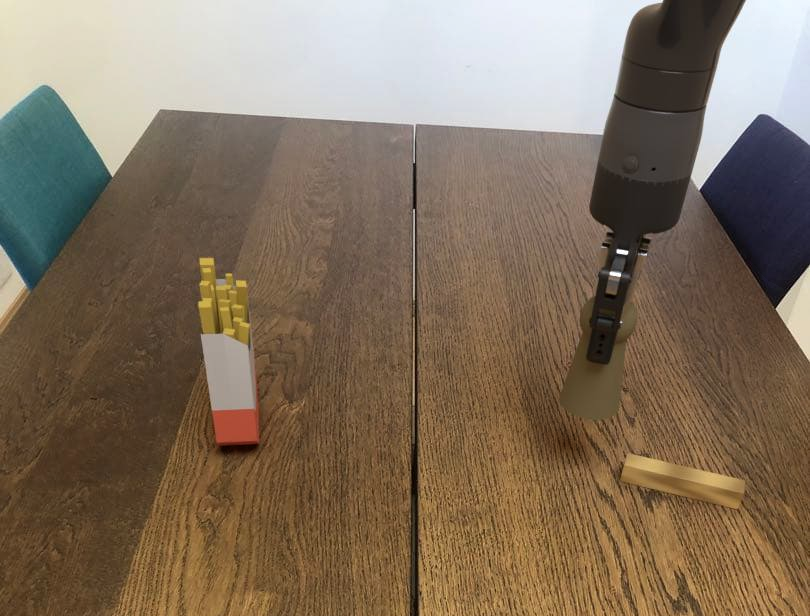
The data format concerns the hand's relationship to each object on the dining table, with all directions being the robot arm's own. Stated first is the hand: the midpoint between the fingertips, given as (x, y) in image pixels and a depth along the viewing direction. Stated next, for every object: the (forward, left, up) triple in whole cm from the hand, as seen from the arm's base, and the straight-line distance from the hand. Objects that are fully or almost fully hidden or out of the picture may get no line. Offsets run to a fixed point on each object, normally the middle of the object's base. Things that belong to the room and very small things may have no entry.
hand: (602, 345), depth 77 cm
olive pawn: (0, 0, -7) cm, 7 cm away
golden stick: (-10, +4, -14) cm, 18 cm away
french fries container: (+36, -6, -15) cm, 39 cm away
